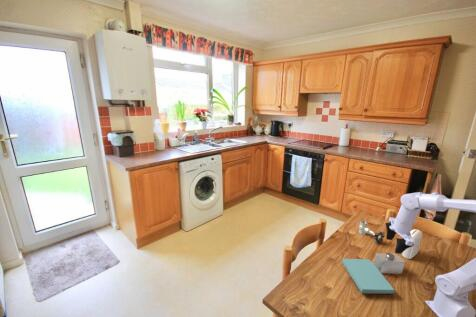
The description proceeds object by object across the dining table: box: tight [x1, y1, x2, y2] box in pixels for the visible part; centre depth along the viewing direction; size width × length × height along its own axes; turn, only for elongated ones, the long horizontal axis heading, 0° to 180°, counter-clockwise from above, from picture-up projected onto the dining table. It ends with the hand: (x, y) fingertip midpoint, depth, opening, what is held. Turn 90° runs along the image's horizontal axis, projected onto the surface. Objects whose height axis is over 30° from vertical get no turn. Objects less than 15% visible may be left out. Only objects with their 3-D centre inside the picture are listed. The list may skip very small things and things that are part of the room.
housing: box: [373, 252, 406, 274], centre depth 94 cm, size 5×9×7 cm, turn 90°
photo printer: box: [401, 229, 423, 260], centre depth 103 cm, size 10×4×12 cm, turn 123°
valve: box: [357, 220, 386, 244], centre depth 116 cm, size 7×7×12 cm
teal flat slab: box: [341, 258, 395, 295], centre depth 88 cm, size 16×12×3 cm
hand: (393, 245), depth 92 cm, fingers open, 7 cm apart
